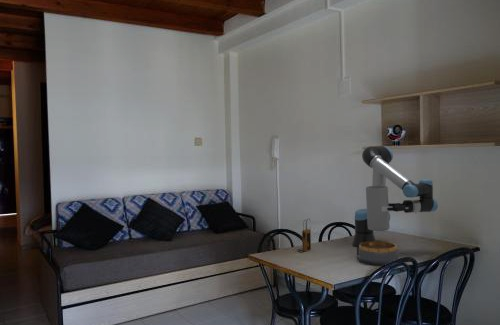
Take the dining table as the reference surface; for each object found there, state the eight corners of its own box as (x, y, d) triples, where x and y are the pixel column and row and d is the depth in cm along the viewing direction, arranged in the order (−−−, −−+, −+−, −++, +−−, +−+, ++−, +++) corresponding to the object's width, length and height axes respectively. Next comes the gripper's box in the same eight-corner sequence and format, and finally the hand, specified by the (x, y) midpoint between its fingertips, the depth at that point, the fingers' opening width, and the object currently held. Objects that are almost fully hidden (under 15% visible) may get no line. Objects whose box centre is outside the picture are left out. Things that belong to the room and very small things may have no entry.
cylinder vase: (393, 230, 256) (391, 187, 254) (373, 232, 254) (371, 189, 252) (383, 225, 268) (381, 185, 266) (364, 227, 266) (362, 186, 264)
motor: (347, 258, 253) (347, 243, 253) (373, 253, 264) (373, 238, 264) (379, 267, 233) (379, 251, 233) (405, 261, 244) (405, 245, 243)
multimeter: (299, 246, 287) (298, 216, 287) (313, 248, 282) (312, 217, 281) (289, 251, 275) (288, 219, 274) (304, 253, 269) (303, 220, 269)
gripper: (421, 215, 250) (385, 217, 247) (401, 209, 275) (368, 211, 272) (421, 202, 250) (385, 203, 247) (401, 197, 274) (368, 199, 272)
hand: (376, 207), depth 260 cm, fingers closed on cylinder vase, 12 cm apart
